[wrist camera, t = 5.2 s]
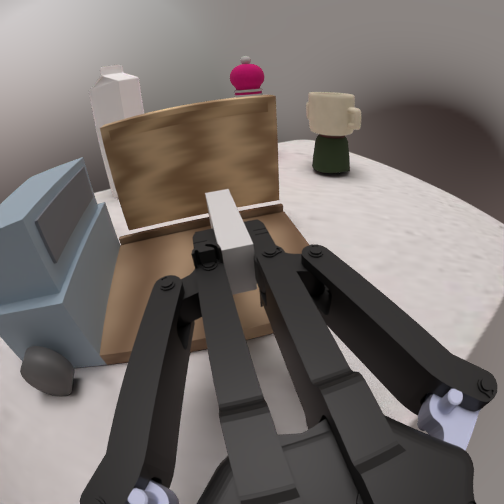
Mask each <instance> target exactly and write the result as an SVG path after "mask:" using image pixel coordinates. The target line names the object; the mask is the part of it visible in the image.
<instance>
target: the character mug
mask: <svg viewBox="0 0 504 504" xmlns="http://www.w3.org/2000/svg"><path fill="white" fill-rule="evenodd" d="M306 110H307V118H308V119H309V126H310V130H311V131H312V132H315V133H317V134H319V135H318V136H317V138H316V141H315V148H314V155H313V164H312V167H313V168H314V169H315V170H317V171H319V172H324V173H337V174H338V173H339V172H345V171H350V163H349V149H348V141H347V138H346V137H345V135H349V134H352V132H353V130H354V129H355V130H359V129H360V127H361V111H360V110H359V109H358V108H355V97H354V95H351V94H344V93H332V92H311V93H309V102H307V104H306Z"/></svg>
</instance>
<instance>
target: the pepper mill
mask: <svg viewBox="0 0 504 504" xmlns="http://www.w3.org/2000/svg"><path fill="white" fill-rule="evenodd" d="M250 61H251V59H250V58H249V57H248V56H243V57H242V58H241V63H242V65H239V66H237V67H235V68H234V69H233V70H232V72H231V74H230V81H231V83H232V85H233V86H234V87H235V88H236V90H235V91H234V92H235V97H236V98H237V97H247V96H259V95H263V94H262V89H261V88H260V86H261V84H262V83H263V81H264V73H263V71H262V69H261V68H260V67H258V66H257V65H254V64H249V63H250Z"/></svg>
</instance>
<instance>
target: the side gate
mask: <svg viewBox="0 0 504 504" xmlns="http://www.w3.org/2000/svg"><path fill="white" fill-rule="evenodd" d="M100 131H101V136H102V140H103V144H104V148H105V152H106V156H107V160H108V164H109V168H110V171H111V175H112V178H113V182H114V185H115V189H116V192H117V195H118V198H119V202H120V205H121V208H122V211H123V214H124V217H125V220H126V223H127V226H128V229H129V230H133V229H137V228H141V227H146V226H150V225H154V224H159V223H163V222H168V221H172V220H177V219H182V218H186V217H191V216H196V215H201V214H206V213H208V207H207V201H206V195H205V193H208V192H214V191H219V190H225V189H229V191H230V194H231V196H232V198H233V200H234V202H235V205H236V207H242V206H248V205H253V204H259V203H265V202H270V201H276V200H279V172H278V142H277V118H276V97H275V96H273V95H259V96H247V97H237V98H228V99H220V100H213V101H206V102H200V103H193V104H188V105H182V106H177V107H172V108H167V109H162V110H158V111H153V112H149V113H145V114H141V115H137V116H133V117H130V118H126V119H122V120H119V121H115V122H112V123H109V124H105V125H103V126H102V127H101V128H100Z"/></svg>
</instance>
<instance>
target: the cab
mask: <svg viewBox="0 0 504 504" xmlns="http://www.w3.org/2000/svg"><path fill="white" fill-rule="evenodd" d="M119 249H120V243H119V241H118V238H117V235H116V233H115V230H114V227H113V224H112V221H111V218H110V215H109V212H108V209H107V206H106V203H105V202H104V203H100V204H97V202H96V199H95V196H94V193H93V189H92V186H91V183H90V180H89V176H88V173H87V169H86V166H85V162H84V158H83V157H82V158H79V159H77V160H74V161H71V162H68V163H65V164H63V165H60V166H57V167H55V168H52V169H50V170H47V171H45V172H42V173H40V174H37V175H35V176H33V177H30V178H29V179H28V180H27V181H26V182H25V183H23V184H22V185H21V186H20V187H19V188H17V189H16V190H15V191H14V192H13V193H12V194H11V195H10V196H9V197H8V198H7V199H5V200H4V201H3V202H2V203H1V204H0V336H1V338H2V339H3V340H4V341H5V342H6V343H7V345H8V346H9V347H10V348H11V349H12V350H13V351H14V353H15V354H16V355H17V356H18V357H19V358H20V359H21V360H22V361H23V362H22V366H21V370H20V372H21V375H22V377H23V378H24V379H25V380H26V381H27V382H28V383H29V384H30V385H31V386H33V387H34V388H36V389H38V390H40V391H42V392H45V393H48V394H51V395H56V396H65V395H68V394H70V393H71V391H72V383H73V375H74V368H79V367H90V366H100V365H107V364H106V363H105V362H104V360H103V359H102V358H101V357H100V347H101V340H102V333H103V326H104V320H105V314H106V308H107V303H108V298H109V293H110V288H111V283H112V278H113V274H114V269H115V265H116V261H117V257H118V253H119Z"/></svg>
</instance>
